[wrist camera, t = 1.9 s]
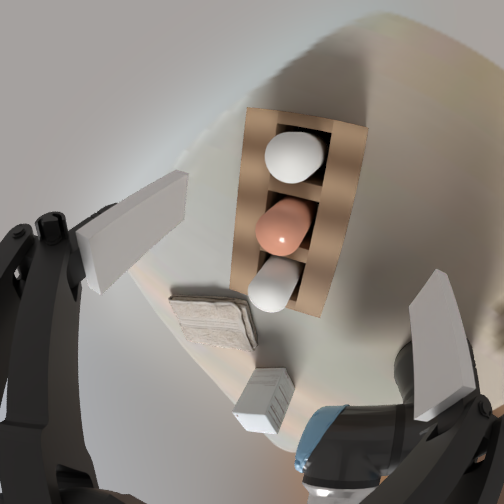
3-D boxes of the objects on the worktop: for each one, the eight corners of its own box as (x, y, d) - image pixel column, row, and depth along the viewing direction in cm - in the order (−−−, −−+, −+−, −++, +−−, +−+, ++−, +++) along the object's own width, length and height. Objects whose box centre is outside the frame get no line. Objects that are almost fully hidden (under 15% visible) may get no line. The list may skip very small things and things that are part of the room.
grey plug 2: (302, 277, 36) (283, 317, 29) (271, 267, 37) (245, 304, 30) (309, 247, 34) (291, 284, 27) (276, 238, 35) (250, 271, 28)
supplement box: (266, 388, 57) (245, 431, 47) (254, 367, 55) (230, 411, 45) (296, 388, 54) (278, 435, 43) (286, 366, 52) (264, 415, 41)
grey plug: (324, 173, 30) (311, 188, 22) (287, 165, 31) (261, 177, 23) (331, 136, 27) (320, 137, 20) (293, 129, 29) (268, 128, 21)
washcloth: (262, 344, 52) (257, 355, 50) (190, 336, 60) (183, 345, 57) (248, 294, 48) (241, 304, 45) (172, 293, 56) (163, 300, 53)
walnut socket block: (330, 277, 40) (319, 317, 32) (257, 256, 43) (229, 288, 35) (365, 129, 30) (368, 127, 21) (276, 112, 33) (247, 107, 25)
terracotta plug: (313, 229, 33) (296, 261, 25) (279, 220, 34) (252, 248, 27) (320, 194, 31) (305, 217, 23) (284, 186, 32) (258, 205, 24)
